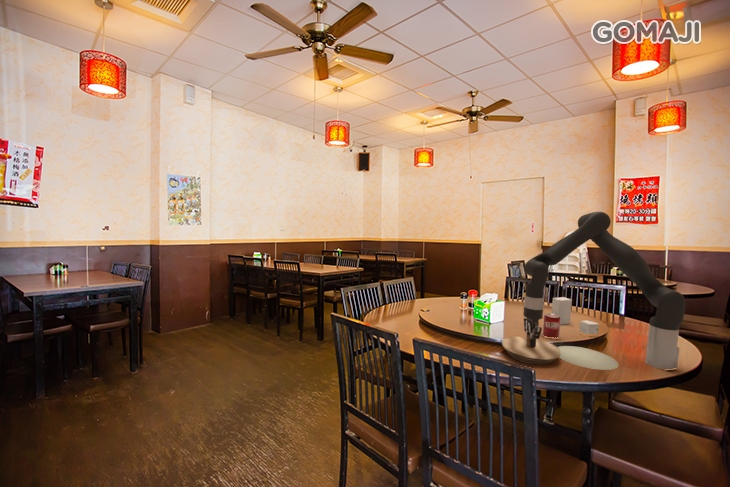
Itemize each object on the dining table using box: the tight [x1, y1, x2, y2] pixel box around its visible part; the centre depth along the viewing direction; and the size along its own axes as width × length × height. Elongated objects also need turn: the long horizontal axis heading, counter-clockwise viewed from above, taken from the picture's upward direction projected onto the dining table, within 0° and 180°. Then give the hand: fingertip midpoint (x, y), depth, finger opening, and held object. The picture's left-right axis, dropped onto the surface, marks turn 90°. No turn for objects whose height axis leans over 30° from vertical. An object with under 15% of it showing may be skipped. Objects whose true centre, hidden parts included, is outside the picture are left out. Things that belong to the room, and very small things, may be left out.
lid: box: [501, 334, 561, 361], centre depth 146 cm, size 23×23×6 cm
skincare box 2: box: [578, 319, 600, 334], centre depth 175 cm, size 6×6×7 cm
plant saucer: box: [505, 349, 556, 366], centre depth 147 cm, size 21×21×3 cm
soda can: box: [542, 312, 561, 338], centre depth 170 cm, size 7×7×12 cm
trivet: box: [556, 345, 619, 371], centre depth 147 cm, size 24×24×1 cm
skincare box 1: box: [551, 296, 573, 326], centre depth 194 cm, size 8×6×15 cm
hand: (530, 344), depth 147 cm, fingers closed on lid, 3 cm apart
